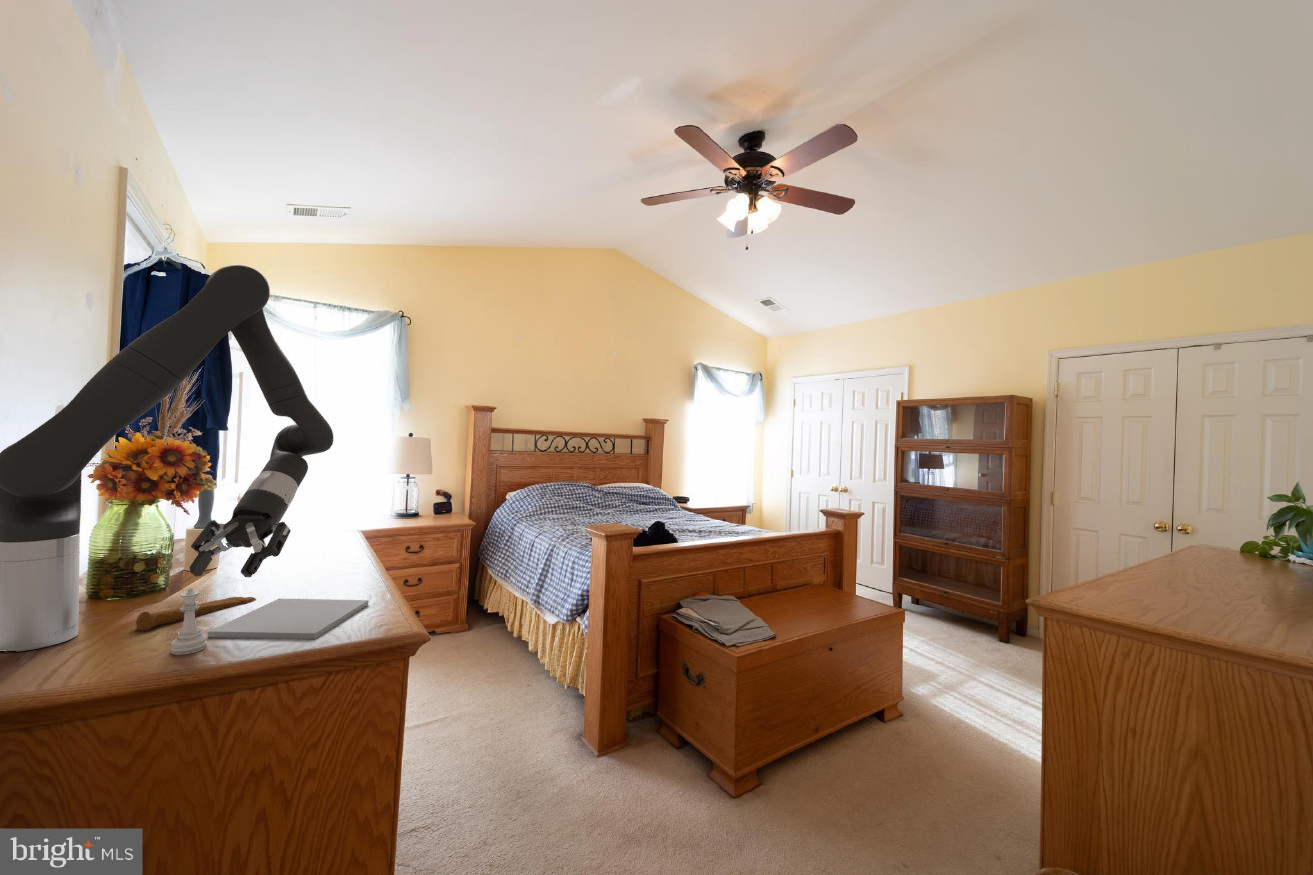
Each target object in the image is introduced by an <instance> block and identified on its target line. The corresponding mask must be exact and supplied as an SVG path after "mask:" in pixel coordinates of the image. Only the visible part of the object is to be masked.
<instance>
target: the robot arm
mask: <svg viewBox="0 0 1313 875" xmlns="http://www.w3.org/2000/svg"><path fill="white" fill-rule="evenodd" d="M204 284H205V285H204V286H203V287H202V288H201V290H200V291H199V292H197V294H195V296H193V298H191V300H190V301H189V302H188V303H187V304H186V305H184V306H183V307H182V308H181V309H179V310H178V311H177V312H175V313H174V314H173V315H170V316H169V317H167V318H166V319H164V320H163V321H160V322H159V323H158V324H156V325H154V326H153V327H151V328H150V329H148V330H146V331H145V332H144V333H142V334H141V335H140V336H139V337H137V338H136V339H134V340H133V341H132V342H130V343H129V344H128V345H127V346H125V347H124V348H123V349H121V351H119V352H118V353H117V354H116V355H115V356H113V357H112V358H111V359H109V361H107V363H105V365H103V367H102V368H100V369H99V370H98V371H97V372H96V373H95V374H94V375H93V376H92V377H91V378H90V379H89V380H88V381H87V383H86V384H84V385H83V387H82V388H81V389H80V390H79V392H77V394H75V396H74V397H73V398H72V399H71V400H70V401H69V402H68V403H67V404H66V405H65V407H63V408H62V409H61V410H59V411H58V413H56V414H54V416H52V417H50V418H49V419H48V420H47V421H45V422H43V423H42V424H41V425H39V426H38V427H37V428H35V429H34V430H32V431H31V432H30V433H28V434H26V435H25V436H24V437H22V438H21V439H19V440H17V441H16V442H15V443H12V444H10V445H8V446H7V447H5V448H4V449H2V451H0V650H6V651H16V652H23V651H24V652H25V651H30V650H32V651H33V650H36V649H42V648H46V647H51V646H53V645H57V644H61V643H64V642H67V641H69V640H72V639H74V638H75V637H77V636H78V635H79V613H80V612H79V611H80V609H79V608H80V550H81V549H80V546H81V544H80V543H81V540H80V538H81V534H80V532H81V530H80V529H81V515H82V514H81V513H82V473H83V472H82V471H83V470H84V469H85V468H86V467H87V465H89V463H90V462H91V461H92V460H93V458H94V457H95V456H96V455H97V454H98V453H99V452H100V451H101V449H103V448H104V446H105V445H106V444H107V443H108V442H110V441H111V439H112V438H114V437H115V436H117V434H118V433H120V432H121V431H123V429H125V428H126V427H128V426H129V425H131V424H132V423H133V422H136V421H137V420H138V419H139V418H141V417H142V416H143V415H145V414H146V413H147V412H149V411H150V410H152V409H153V408H154V407H155V406H156V405H158V404H159V403H160V402H161V401H163V400H164V399H166V398H167V396H168V395H170V393H172V392H173V391H174V390H175V389H177V387H178V386H179V385H181V383H183V381H184V380H186V379H187V377H188V376H190V374H191V373H192V372H193V371H194V370H195V369H196V368H197V367H198V366H199V365H200V364H201V363H202V362H203V360H204V359H205V358H206V357H207V356H208V355H209V353H211V351H212V350H213V349H214V348H215V346H216V345H217V344H218V343H219V342H220V341H221V340H223V338H224V337H225V336H226V335H228V334H229V333H230V332H231V333H232V334H231V335H233V337H234V339H235V340H236V342H237V344H238V347H240V349H241V351H242V353H243V355H244V357H245V358H246V361H247V362H248V365H249V367H250V369H251V372H252V373H253V375H254V378H255V379H256V382H257V384H258V387H259V389H260V390H261V392H262V394H263V395H262V396H263V397H264V400H265V401H266V403H267V405H268V407H269V410H270V411H271V412H272V414H273V415H274V416H277V417H286V418H290V419H291V420H292V421H293V422H294V424H290V425H288V426H285V427H283V428H281V430H280V431H279V432H278V433H277V435H276V436H275V438H274V441H273V444H272V447H271V451H270V456H269V460H268V461H267V462H266V464H265V465H264V467H263V468H262V470H261V472H260V473H259V475H257V477H256V478H255V479H254V480H252V482H251V484H249V486H248V487H247V489H246V491H245V493H243V495H242V497H241V498H240V499H239V501H238V503H237V504H236V506H235V507H234V508H233V511H232V517H231V518H230V519H229V520H228V521H227V522H226V523H218V522H217V521H216V520H214V519H213V520H210V521H209V522H208V523H207V524H206V526H205V527H204V529H203V530H202V531H201V532H200V533H199V535H197V537H196V539H194V540H193V543H191V545H190V547H191V548H192V549H193V551H195V552H196V553H197V555H196V557H195V558H194V559H193V561H192V563H190V564H191V565H190V566H189V572H190V574H192V575H193V576H194V577H201V576H202V575H203V574H204V573H205V571H206V570H207V568H208V566H209V565H210V563H211V562H212V561H213V557H216V556H217V555H218V554H220V553H222V552H227V551H229V550H230V549H231V548H241V547H242V548H253V551H254V552H251V553H250V554H249V556H248V558H247V560H246V561H245V563H244V564H243V566H242V568H241V570H240V574H242V576H243V577H244V578H251V577H253V575H255V574H256V573H257V572H258V570H259V568H260V567H261V565H262V563H263V562H264V560H266V559H268V558H269V557H273V558H275V557H278V556H280V554H281V552H282V550H283V547H284V546H285V544H286V542H287V540H288V538H289V535H290V533H291V531H292V530H291V528H290V527H289V526H288V525H287V523H285V521H282V520H283V517H284V515H285V514H286V512H287V511H288V508H290V505H291V503H292V502H293V501H294V500H293V499H294V498H295V496H296V493H297V491H298V489H299V487H300V486H301V484H302V482H303V480H304V479H305V477H306V475H307V473H308V470H309V464H308V462H307V460H306V459H305V458H303V457H306V456H311V455H315V454H321V453H324V452H327V451H328V450H330V449H331V448H332V446H333V445H334V431H333V429H332V428H331V426H330V424H329V423H328V421H327V419H325V417H324V416H323V415H322V413H321V412H320V410H318V409H317V407H316V406H315V405H314V404H313V402H311V400H310V399H309V398H308V395H307V394H306V391H305V389H304V387H303V385H302V382H301V380H300V378H299V376H298V374H297V372H296V370H295V368H294V366H293V365H292V363H291V361H290V360H289V359H288V357H287V356H286V354H285V353H284V351H283V350H282V349H281V347H280V346H279V344H278V342H277V341H276V339H275V337H274V336H273V333H272V331H271V329H270V327H269V325H268V322H267V319H266V315H265V312H264V307H265V306H266V305H267V304H268V302H269V299H270V294H271V292H270V291H271V290H270V285H269V283H268V280H267V278H266V277H265V276H264V275H263V273H262V272H260V271H259V270H258V269H256V268H253V267H250V266H249V265H248V266H247V265H243V264H242V265H241V264H228V265H225V266H222V267H219V268H218V269H217V270H215V271H214V272H213V273H211V274H210V275H209V276H208V277H207V279H206V281H205V283H204ZM270 536H271V537H270ZM268 537H270V538H269V541H268V543H267V544H266V541H265V539H266V538H268ZM224 539H225V541H226V542H225V543H223V542H222V541H223V540H224ZM212 548H213V549H212Z"/></svg>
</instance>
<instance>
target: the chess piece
mask: <svg viewBox="0 0 1313 875" xmlns="http://www.w3.org/2000/svg"><path fill="white" fill-rule="evenodd" d="M193 590H194V589H193V588H192V587H189V588H188V589H187V591H186V592H183V593H180V595H179V596H180V598H182V599H183V601H184V603H183V606H182V607H179V608H180V612H185V614H184V619H183V624H182V626H181V630H180V631H178V632H177V637H176V638H174V639H173V640H172V642H170V645H171V648H170V653H171V654H172V655H175V656H177V655H178V656H181V655H189V654H194V653H196V652H200V651H202V650H204V649H205V648H207V646H208V643H207V635H205V634H203V633H202V632H201V631H202V630H201V628H198V625H197V622H196V616H195V610H198V609H199V605H197V602H196V599H197V598H198V596H199V595H200V594H201V593H200V591H197V590H194V591H193Z"/></svg>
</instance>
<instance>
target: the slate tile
mask: <svg viewBox="0 0 1313 875" xmlns="http://www.w3.org/2000/svg"><path fill="white" fill-rule="evenodd" d="M367 605H368V606H369V600H368V599H330V598H329V599H328V598H327V599H325V598H324V599H321V598H320V599H319V598H318V599H317V598H277V599H276V600H275V599H274V600H273V601H271V602H268V603H266V604H264V605H263V606H260V607H258V608H256V609H253V610H251V611H249V612H247V613H244V614H242V615H241V616H238V617H236V618H234V619H231V620H230V621H227V622H226V623H223V624H221V625H218V626H217V627H214V628H213V629H210V630H208V631H207V638H222V639H224V638H232V639H236V638H238V639H285V640H286V639H287V640H288V639H289V640H290V639H291V640H292V639H293V640H294V639H295V640H316V639H317V638H319V637H320V636H322V635H324V634H325V633H327V632H328V631H330V630H331V629H334V627H336V626H338V625H339V624H341V623H343V622H344V621H345V620H347V619H349V618H350V617H352V616H353V615H355V614H357V613H358V612H359V610H360V611H361V610H363V609H365V608H364V607H365V606H366V607H368V606H367ZM362 608H363V609H362ZM357 611H358V612H357ZM356 612H357V613H356ZM354 613H355V614H354Z"/></svg>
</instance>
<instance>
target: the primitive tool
mask: <svg viewBox="0 0 1313 875" xmlns="http://www.w3.org/2000/svg"><path fill="white" fill-rule="evenodd" d="M256 600H257V598H256V597H254V596H248V597H247V596H246V597H243V596H233V597H226V598H222V599H217V600H216V599H215V600H212V601H207V602H202V603H199V604H197V603H196V604H197V605H199V609H198V610H195V617H197V616H201V615H205V614H208V613H212V612H216V611H221V610H224V609H227V608H228V609H229V608H232V607H236V606H239V605H244V604H248V603H252V602H255V601H256ZM180 608H181V607H176V608H169V609H166V610H158V611H154V612H149V611H142V612H140V613H139V615H138V616H137V618H136V622H135V623H136V629H137V630H139V631H150V630H151V629H153V628H155V627H158V626H163V625H165V624H170V623H173V622H178V621H182V620H184V614H185V612H180ZM149 629H150V630H149Z"/></svg>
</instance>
